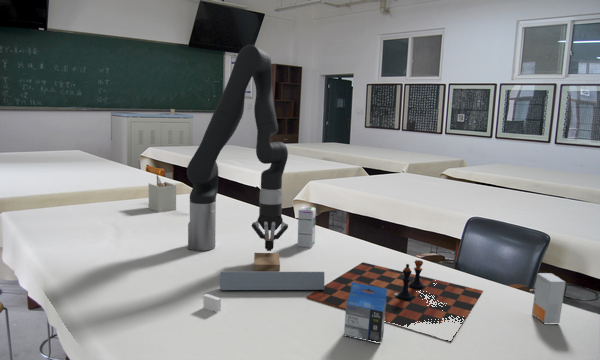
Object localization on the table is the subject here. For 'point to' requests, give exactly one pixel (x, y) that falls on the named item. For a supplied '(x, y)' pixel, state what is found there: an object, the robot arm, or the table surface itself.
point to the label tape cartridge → (365, 312)
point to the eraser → (211, 302)
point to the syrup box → (306, 226)
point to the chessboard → (403, 294)
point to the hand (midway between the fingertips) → (269, 250)
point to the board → (272, 280)
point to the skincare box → (548, 298)
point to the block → (266, 262)
